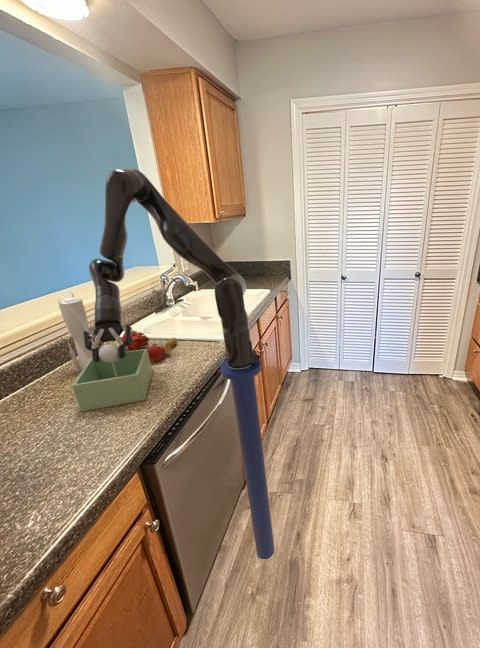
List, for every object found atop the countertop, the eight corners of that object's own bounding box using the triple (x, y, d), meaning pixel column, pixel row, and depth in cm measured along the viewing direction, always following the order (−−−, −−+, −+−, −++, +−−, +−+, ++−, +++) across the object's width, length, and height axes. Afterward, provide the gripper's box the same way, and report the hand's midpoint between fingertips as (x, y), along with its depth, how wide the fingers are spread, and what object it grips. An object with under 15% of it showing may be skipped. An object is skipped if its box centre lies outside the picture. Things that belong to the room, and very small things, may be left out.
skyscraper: (81, 363, 126) (57, 293, 115) (104, 359, 128) (82, 290, 117) (75, 373, 119) (48, 299, 108) (100, 368, 121) (76, 296, 110)
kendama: (164, 346, 140) (140, 361, 123) (165, 333, 138) (140, 345, 121) (181, 350, 139) (159, 364, 122) (182, 336, 138) (160, 349, 120)
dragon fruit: (124, 350, 139) (151, 354, 138) (112, 346, 131) (141, 351, 130) (129, 331, 141) (156, 335, 140) (118, 326, 132) (146, 330, 132)
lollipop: (129, 379, 111) (118, 339, 104) (130, 387, 106) (118, 346, 100) (108, 384, 108) (96, 343, 102) (108, 392, 103) (95, 350, 97)
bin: (152, 370, 118) (147, 348, 114) (144, 400, 100) (137, 374, 97) (99, 379, 113) (91, 356, 110) (81, 411, 96) (71, 385, 92)
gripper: (78, 310, 101) (78, 359, 96) (128, 304, 105) (130, 351, 99) (88, 320, 108) (88, 367, 102) (135, 314, 112) (137, 359, 106)
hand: (109, 359), depth 101 cm, fingers open, 6 cm apart
